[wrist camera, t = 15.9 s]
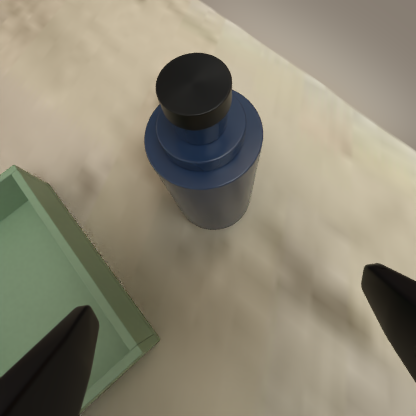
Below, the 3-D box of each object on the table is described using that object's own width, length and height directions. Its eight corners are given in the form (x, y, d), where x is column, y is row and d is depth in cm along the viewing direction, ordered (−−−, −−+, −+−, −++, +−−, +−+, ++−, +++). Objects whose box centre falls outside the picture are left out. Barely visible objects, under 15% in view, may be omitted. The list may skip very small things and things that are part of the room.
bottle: (241, 237, 21) (256, 169, 9) (169, 220, 22) (92, 137, 10) (256, 169, 23) (287, 31, 10) (189, 156, 24) (144, 15, 11)
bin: (160, 339, 20) (143, 353, 16) (11, 476, 18) (-50, 530, 14) (48, 183, 24) (13, 164, 20) (-78, 280, 22) (-143, 279, 19)
